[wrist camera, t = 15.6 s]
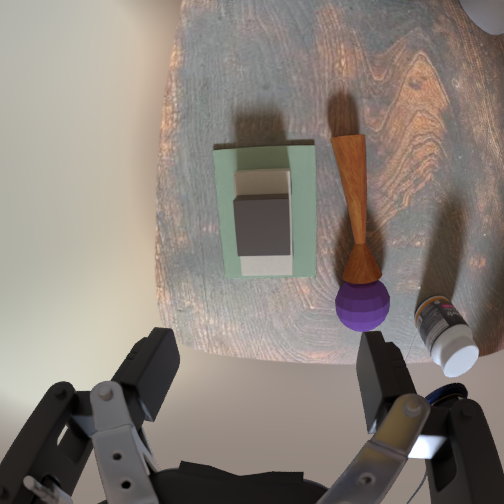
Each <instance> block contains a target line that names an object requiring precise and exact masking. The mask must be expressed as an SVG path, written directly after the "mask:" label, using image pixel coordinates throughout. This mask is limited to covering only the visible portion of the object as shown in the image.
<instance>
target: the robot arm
mask: <svg viewBox="0 0 504 504" xmlns="http://www.w3.org/2000/svg"><path fill="white" fill-rule="evenodd" d="M403 359H404V358H403V356H402V353H401V351H400V349H399V348H398V347H397V346H396V345H395V344H394V343H393V342H385V341H384V338H383V335H382V333H381V331H368V332H363V333H362V335H361V341H360V346H359V351H358V356H357V364H356V366H357V367H356V369H357V376H358V381H359V386H360V391H361V397H362V402H363V407H364V412H365V418H366V424H367V431H368V434H374V433H375V434H374V435H373V437H372V438H371V440H368V441H367V442H366V443H365V445H364V446H363V447H362V449H361V450H360V451H359V453H358V454H357V455H356V457H355V458H354V459H353V461H352V462H351V463H350V464H349V466H348V467H347V468H346V470H345V471H344V472H343V473H342V474H341V476H340V477H339V478H338V479H337V480H336V482H335V483H334V484H333V485H332V486H331V488H327V487H325V486H323V485H321V484H319V483H317V482H314V481H311V480H307V479H303V474H304V473H303V472H274V471H272V472H266V473H260V474H252V475H244V476H238V475H234V474H232V473H229V472H226V471H223V470H220V469H217V468H215V467H212V466H209V465H202V464H196V463H190V462H185V461H181V463H180V466H179V468H170V469H165V470H162V471H161V469H160V467H159V466H158V464H157V462H156V460H155V458H154V455H153V453H152V450H151V448H150V445H149V443H148V440H147V437H146V435H145V432H144V429H143V427H142V424H143V421H144V420H146V421H151V422H154V421H155V419H156V416H157V414H158V412H159V410H160V408H161V405H162V403H163V401H164V399H165V397H166V394H167V392H168V390H169V388H170V386H171V383H172V381H173V379H174V377H175V375H176V373H177V370H178V368H179V364H180V355H179V351H178V347H177V344H176V340H175V336H174V332H173V330H172V329H171V328H159V327H155V328H154V329H153V330H152V331H151V333H150V334H149V336H148V338H147V337H144V338H142V339H141V340H140V341H138V342H137V343H136V344H135V345H134V346H133V348H132V349H131V351H130V353H129V354H128V355H127V357H126V359H125V360H124V361H123V363H122V364H121V366H120V367H119V369H118V370H117V372H116V373H115V375H114V376H113V378H112V379H111V381H104V382H101V383H99V384H97V385H96V386H94V388H93V389H92V390H91V391H76V390H75V389H74V387H73V385H72V384H71V383H69V382H65V381H62V382H58V383H55V384H54V385H52V386H51V387H50V388H49V389H48V391H47V392H46V394H45V395H44V397H43V398H42V399H41V401H40V403H39V404H38V405H37V407H36V408H35V410H34V411H33V413H32V414H31V416H30V417H29V419H28V420H27V422H26V423H25V425H24V426H23V428H22V429H21V431H20V433H19V434H18V436H17V437H16V439H15V440H14V442H13V444H12V445H11V447H10V449H9V450H8V452H7V454H6V455H5V457H4V459H3V461H2V462H1V464H0V504H73V501H72V499H71V496H72V494H73V491H74V489H75V487H76V484H77V482H78V480H79V478H80V475H81V473H82V471H83V469H84V467H85V464H86V462H87V460H88V458H89V456H90V454H91V451H92V449H93V448H94V452H95V457H96V461H97V466H98V470H99V474H100V478H101V481H102V485H103V488H104V492H105V495H106V500H104V501H102V502H100V503H98V504H380V503H381V502H382V500H383V499H384V497H385V495H386V494H387V493H388V491H389V490H390V488H391V487H392V485H393V484H394V482H395V480H396V479H397V477H398V476H399V474H400V472H401V471H402V469H403V467H404V465H405V463H406V462H407V460H408V457H414V458H425V463H426V473H425V476H424V479H423V481H422V483H421V484H420V486H419V488H418V489H417V490H416V492H415V493H414V494H413V496H412V497H411V498H410V500H409V501H408V502H407V504H408V503H409V502H410V501H411V499H412V498H413V497H414V496H415V494H416V493H417V492H418V490H419V489H420V488H421V486H422V484H423V483H424V481H425V479H426V476H428V482H429V489H430V497H431V504H504V473H503V469H502V466H501V462H500V459H499V456H498V452H497V450H496V446H495V444H494V440H493V437H492V435H491V432H490V429H489V426H488V424H487V421H486V418H485V416H484V413H483V410H482V408H481V407H480V405H479V404H478V403H477V402H475V401H474V400H471V399H464V397H463V395H462V394H461V393H459V392H452V393H449V394H446V395H443V396H441V397H440V398H438V399H436V400H435V401H433V402H432V403H431V404H430V405H429V403H428V401H427V400H426V399H425V398H424V397H422V396H420V395H418V394H417V392H416V390H415V387H414V384H413V382H412V379H411V376H410V374H409V371H408V368H406V363H405V361H404V360H403ZM65 425H66V426H67V427H68V429H67V431H66V432H65V434H64V436H63V438H62V439H61V441H60V443H59V445H57V440H58V437H59V435H60V434H61V432H62V430H63V428H64V427H65Z"/></svg>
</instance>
